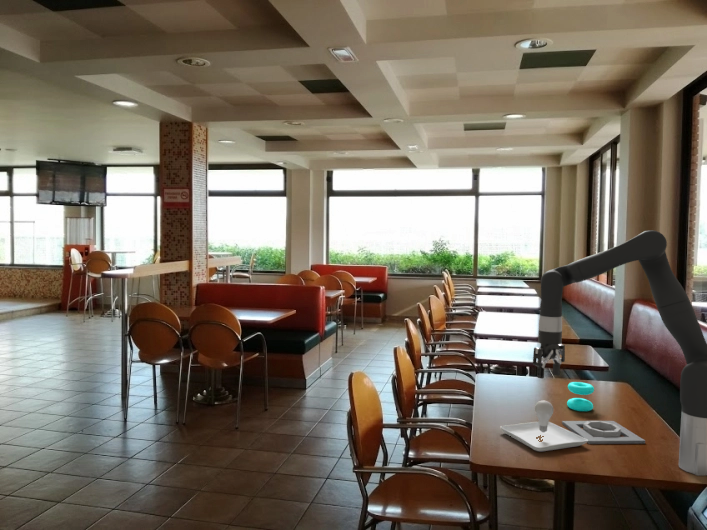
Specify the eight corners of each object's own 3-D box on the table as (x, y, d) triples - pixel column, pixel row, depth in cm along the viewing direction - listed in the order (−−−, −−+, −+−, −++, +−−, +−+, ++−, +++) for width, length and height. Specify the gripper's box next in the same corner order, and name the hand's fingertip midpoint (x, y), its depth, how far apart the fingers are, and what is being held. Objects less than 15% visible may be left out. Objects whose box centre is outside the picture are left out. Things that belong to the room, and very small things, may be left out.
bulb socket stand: (645, 443, 190) (645, 436, 190) (588, 443, 189) (588, 436, 188) (613, 423, 210) (613, 416, 210) (561, 423, 208) (562, 417, 208)
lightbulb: (556, 434, 189) (557, 402, 189) (541, 436, 187) (542, 403, 187) (544, 428, 195) (546, 397, 195) (530, 430, 193) (531, 398, 193)
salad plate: (497, 434, 198) (498, 425, 197) (546, 428, 205) (547, 419, 205) (537, 457, 178) (537, 447, 178) (589, 450, 185) (590, 440, 185)
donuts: (571, 387, 223) (564, 380, 233) (570, 411, 223) (563, 404, 233) (597, 388, 222) (589, 381, 232) (596, 413, 222) (588, 405, 232)
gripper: (546, 332, 182) (544, 381, 183) (572, 329, 190) (570, 376, 191) (527, 329, 188) (525, 376, 189) (553, 326, 196) (551, 371, 197)
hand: (548, 376), depth 190 cm, fingers open, 8 cm apart
